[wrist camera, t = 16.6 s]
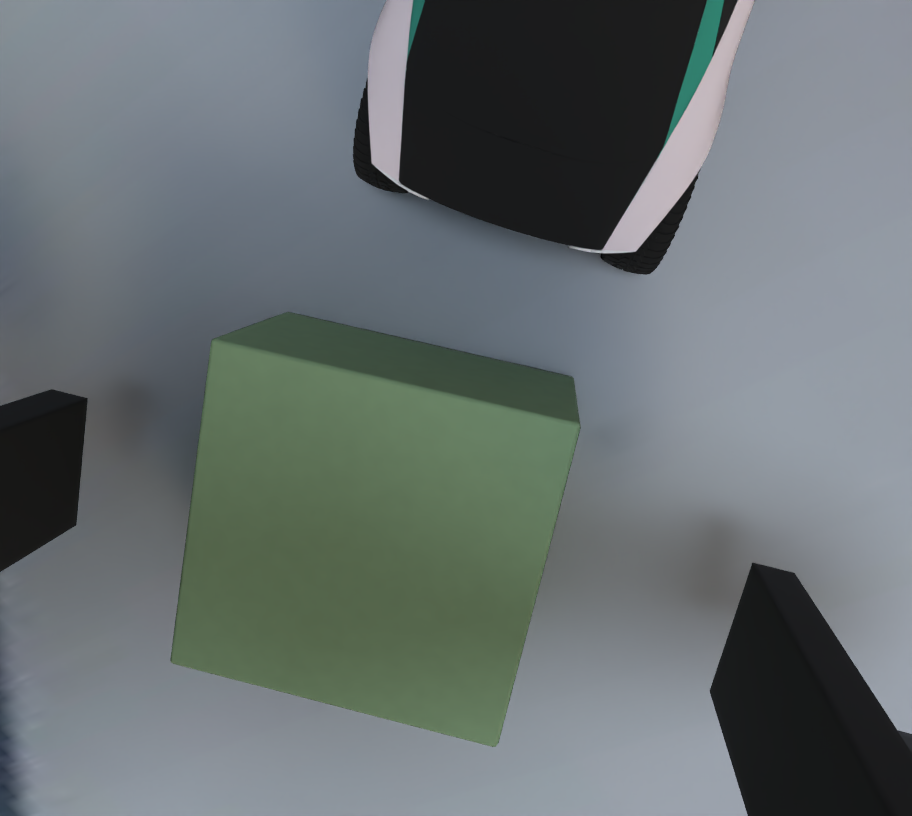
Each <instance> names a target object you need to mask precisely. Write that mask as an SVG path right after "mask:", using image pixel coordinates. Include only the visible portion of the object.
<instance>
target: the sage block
mask: <svg viewBox="0 0 912 816" xmlns="http://www.w3.org/2000/svg"><path fill="white" fill-rule="evenodd" d="M579 432H580V421H579V414H578V406H577V399H576V392H575V385H574V378H572V377H570V376H566V375H561V374H557V373H553V372H548V371H544V370H540V369H535V368H531V367H526V366H522V365H518V364H513V363H509V362H505V361H500V360H496V359H491V358H487V357H483V356H478V355H474V354H470V353H465V352H461V351H456V350H452V349H448V348H443V347H439V346H435V345H430V344H426V343H421V342H417V341H413V340H408V339H404V338H399V337H395V336H391V335H386V334H382V333H378V332H373V331H369V330H364V329H360V328H356V327H351V326H347V325H343V324H338V323H334V322H329V321H325V320H321V319H316V318H312V317H308V316H303V315H299V314H294V313H290V312H286V313H283V314H280V315H278V316H275V317H272V318H269V319H267V320H264V321H261V322H258V323H256V324H253V325H250V326H247V327H244V328H242V329H239V330H236V331H233V332H231V333H228V334H225V335H222V336H220V337H217V338H214V339H213V340H212V341H211V347H210V355H209V363H208V371H207V379H206V386H205V394H204V402H203V410H202V418H201V425H200V433H199V441H198V449H197V457H196V464H195V472H194V480H193V488H192V496H191V504H190V511H189V519H188V527H187V535H186V543H185V550H184V558H183V566H182V574H181V582H180V589H179V597H178V605H177V613H176V621H175V628H174V636H173V644H172V652H171V662H172V663H173V664H177V665H181V666H184V667H188V668H192V669H196V670H200V671H204V672H207V673H211V674H215V675H219V676H223V677H227V678H231V679H234V680H238V681H242V682H246V683H250V684H254V685H257V686H261V687H265V688H269V689H273V690H277V691H280V692H284V693H288V694H292V695H296V696H300V697H304V698H307V699H311V700H315V701H319V702H323V703H327V704H330V705H334V706H338V707H342V708H346V709H350V710H354V711H357V712H361V713H365V714H369V715H373V716H377V717H380V718H384V719H388V720H392V721H396V722H400V723H403V724H407V725H411V726H415V727H419V728H423V729H427V730H430V731H434V732H438V733H442V734H446V735H450V736H453V737H457V738H461V739H465V740H469V741H473V742H477V743H480V744H484V745H488V746H492V747H496V745H497V744H498V743H499V739H500V735H501V731H502V727H503V723H504V719H505V716H506V712H507V708H508V704H509V700H510V696H511V693H512V689H513V685H514V681H515V677H516V673H517V670H518V666H519V662H520V658H521V654H522V650H523V647H524V643H525V639H526V635H527V631H528V627H529V624H530V620H531V616H532V612H533V608H534V604H535V601H536V597H537V593H538V589H539V585H540V581H541V578H542V574H543V570H544V566H545V562H546V558H547V555H548V551H549V547H550V543H551V539H552V535H553V531H554V528H555V524H556V520H557V516H558V512H559V508H560V505H561V501H562V497H563V493H564V489H565V485H566V482H567V478H568V474H569V470H570V466H571V462H572V459H573V455H574V451H575V447H576V443H577V439H578V436H579Z"/></svg>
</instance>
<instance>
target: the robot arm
mask: <svg viewBox="0 0 912 816" xmlns="http://www.w3.org/2000/svg"><path fill="white" fill-rule="evenodd" d="M87 400H88V398H84V397H80V396H76V395H72V394H68V393H64V392H60V391H56V390H52V389H51V390H48V391H45V392H42V393H39V394H36V395H33V396H30V397H27V398H23V399H20V400H17V401H14V402H11V403H8V404H5V405H2V406H0V572H1V571H2V570H4V569H6V568H7V567H9V566H11V565H12V564H14V563H15V562H17V561H19V560H20V559H22V558H24V557H25V556H27V555H28V554H30V553H32V552H33V551H35V550H37V549H38V548H40V547H41V546H43V545H45V544H46V543H48V542H50V541H51V540H53V539H54V538H56V537H58V536H59V535H61V534H63V533H64V532H66V531H67V530H69V529H71V528H72V527H74V526H76V522H77V511H78V500H79V488H80V477H81V466H82V455H83V444H84V433H85V422H86V411H87ZM710 694H711V697H712V700H713V703H714V707H715V710H716V713H717V716H718V720H719V723H720V726H721V729H722V733H723V736H724V739H725V742H726V746H727V749H728V752H729V755H730V759H731V762H732V765H733V769H734V772H735V775H736V778H737V782H738V785H739V788H740V791H741V795H742V798H743V801H744V804H745V808H746V811H747V814H748V816H912V734H909V733H905V732H902V731H898V730H897V729H896V728H895V726H894V725H893V723H892V722H891V720H890V719H889V717H888V715H887V714H886V712H885V711H884V709H883V708H882V706H881V705H880V703H879V702H878V700H877V699H876V697H875V696H874V694H873V692H872V691H871V689H870V688H869V686H868V685H867V683H866V682H865V680H864V679H863V677H862V676H861V674H860V673H859V671H858V670H857V668H856V666H855V665H854V663H853V662H852V660H851V659H850V657H849V656H848V654H847V653H846V651H845V650H844V648H843V647H842V645H841V644H840V642H839V640H838V639H837V637H836V636H835V634H834V633H833V631H832V630H831V628H830V627H829V625H828V624H827V622H826V621H825V619H824V617H823V616H822V614H821V613H820V611H819V610H818V608H817V607H816V605H815V604H814V602H813V601H812V599H811V598H810V596H809V595H808V593H807V591H806V590H805V588H804V587H803V585H802V584H801V582H800V581H799V579H798V578H797V576H796V575H795V573H792V572H788V571H784V570H780V569H776V568H772V567H768V566H764V565H760V564H756V563H752V566H751V569H750V572H749V575H748V578H747V581H746V584H745V587H744V590H743V593H742V596H741V599H740V602H739V605H738V608H737V611H736V614H735V617H734V620H733V623H732V626H731V629H730V632H729V635H728V638H727V641H726V644H725V647H724V650H723V653H722V656H721V659H720V662H719V665H718V668H717V671H716V674H715V677H714V680H713V683H712V686H711V689H710Z"/></svg>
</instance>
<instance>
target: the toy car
mask: <svg viewBox="0 0 912 816" xmlns="http://www.w3.org/2000/svg"><path fill="white" fill-rule="evenodd" d="M754 1H755V0H386V2H385V5H384V7H383V9H382V11H381V14H380V16H379V19H378V22H377V25H376V27H375V31H374V34H373V38H372V42H371V47H370V53H369V62H368V78H367V82H366V88H364V91H363V98H361V104H360V109H359V111H358V119H357V121H356V129H355V138H354V146H353V153H354V154H353V159H354V160H353V162H354V167H355V171H356V174H357V175H358V177H359V178H360V179H362V180H364V181H365V182H367V183H369V184H371V185H373V186H375V187H377V188H380V189H383V190H386V191H391V192H398V193H408V192H410V193H412V194H415V195H417V196H419V197H421V198H423V199H426V200H429V199H431V200H433V201H435V202H438V203H440V204H442V205H445V206H447V207H449V208H452V209H454V210H457V211H459V212H462V213H464V214H467V215H470V216H472V217H475V218H478V219H481V220H483V221H486V222H489V223H492V224H495V225H498V226H501V227H504V228H507V229H510V230H513V231H517V232H520V233H523V234H527V235H530V236H534V237H537V238H541V239H545V240H549V241H553V242H557V243H561V244H565V245H569V246H568V247H569V248H572V249H577V250H582V251H587V252H595V253H601V259H602V260H604V261H605V262H607V263H609V264H611V265H612V266H614V267H616V268H619V269H621V270H622V269H623V270H624V271H627V272H631V273H637V274H650V273H651V272H653V271H654V270H655V269H656V268H657V266H658V265H659V264H660V261H661V260H662V259H663V256H664V255H665V254H666V252H667V251H666V250H667V249H668V248H669V246H670V244H671V241H672V239H673V238H674V236H675V235H674V234H675V232H676V231H677V229H678V228H679V224H680V222H681V220H682V218H683V214H684V212H685V210H686V209H687V204H688V202H689V200H690V198H691V194H692V191H693V190H694V187H695V186H694V185H695V182H696V180H697V179H698V173H699V171H700V169H701V167H702V165H703V163H704V161H705V159H706V157H707V155H708V153H709V151H710V148H711V146H712V143H713V141H714V138H715V135H716V132H717V129H718V126H719V122H720V119H721V115H722V112H723V108H724V103H725V98H726V92H727V87H728V81H729V76H730V72H731V68H732V64H733V61H734V58H735V55H736V52H737V49H738V46H739V43H740V40H741V37H742V35H743V32H744V29H745V26H746V23H747V20H748V18H749V15H750V12H751V10H752V7H753V4H754ZM705 5H706V6H705ZM704 9H705V10H704ZM703 12H704V13H703ZM702 16H703V17H702ZM701 19H702V20H701ZM700 23H701V24H700ZM699 26H700V27H699ZM698 29H699V31H698ZM697 33H698V34H697ZM696 36H697V37H696ZM695 40H696V41H695ZM694 43H695V44H694Z"/></svg>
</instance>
